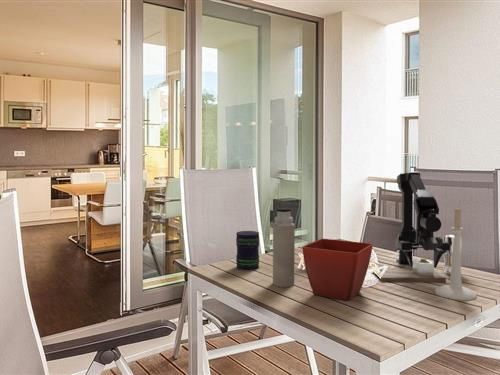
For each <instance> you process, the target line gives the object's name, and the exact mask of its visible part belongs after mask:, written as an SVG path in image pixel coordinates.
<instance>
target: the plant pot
mask: <svg viewBox="0 0 500 375" xmlns="http://www.w3.org/2000/svg"><path fill="white" fill-rule="evenodd" d="M372 252H373V243H369V242H362V241H361V242H359V241H351V240H350V241H349V240H341V239H332V238H320V239H317V240H315V241H313V242H310V243H307V244H305V245H302V256H303V261H304V266H305V271H306V274H307V279H308V281H309V284H310V288H311V291H312V294H313V295H315V296H321V297H327V298H331V299H338V300H343V301H351V300H352V299H353V298H354V297H356V296H357V295H358V294H359V293H360V292H361V290H362V287H363V285H364V282H365V279H366V276H367V272H368V269H369V265H370V260H371V256H372V254H373V253H372Z"/></svg>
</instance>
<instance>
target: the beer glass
mask: <svg viewBox="0 0 500 375" xmlns="http://www.w3.org/2000/svg"><path fill="white" fill-rule="evenodd" d="M454 237H455V236H454V234H443V237H442V239H443V241H445V242H447V243H449V244H450V246H451V250H450V251H447V253H444V254H443V260H444V261H443V262H444V265H443V266H444V267H443V270H442V272H443V273H444V274H448V275H451V266H452V254H453V242H454ZM462 245H463V242H462V236H461V235H460V252H461V253H462V247H463V246H462Z"/></svg>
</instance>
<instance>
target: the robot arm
mask: <svg viewBox="0 0 500 375" xmlns="http://www.w3.org/2000/svg"><path fill="white" fill-rule="evenodd" d="M396 183H397V187H398V189H399V191H400V193H401V227H400V229H398V232H397V236H396V239H395V241H394V248H395V249H396V250H398V259H396V260H395V261H396V262H397V263H398V264H401V265H407V264H408V265H409V267H410V269H413V256H414V255H413V253H414V250H416V251H417V250H418V249H423V250H424V251H433V263H434V269H435V268H437V267H438V264H439V262H440V259H441V258H442V256H444V253H447V251H450V250H451V246H450V244H449V243H447V242H445V241H443V237H442V236H436V237H435V236H434V233H437V232H438V231H440V229H441V228H442V221H441V220H440V218H439V217H437V215H440V208H439V205H438V203H437V200H436V197H434V195H433V193H432V192H429V191H428V190H427V189H426V187H425V183H424V182H423V180H422V178H421V172H420V171H406V172H402V173H401V172H400V173H399V174H398V175H397V176H396ZM414 210H415V214H416V223H415V224H416V225H415V226H416V229H415V228H414Z"/></svg>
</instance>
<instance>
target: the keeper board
mask: <svg viewBox="0 0 500 375" xmlns="http://www.w3.org/2000/svg"><path fill="white" fill-rule="evenodd" d="M420 260H421V263H426V260H427V259H426V258H420ZM380 282H393V283H394V282H399V283H400V282H405V283H406V282H407V283H410V282H411V283H412V282H413V283H419V282H420V283H423V282H424V283H425V282H426V283H429V282H430V283H446V282H447V278H446V277H445V276H444V275H442V274H441V273H439V272H438V271H436V270H434V275H417V274H416V273H415V272H413V268H396V267H395V268H391V267H390V268H387V270H386V272H385V273H384V274H383V276H382V277H381V279H380Z"/></svg>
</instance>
